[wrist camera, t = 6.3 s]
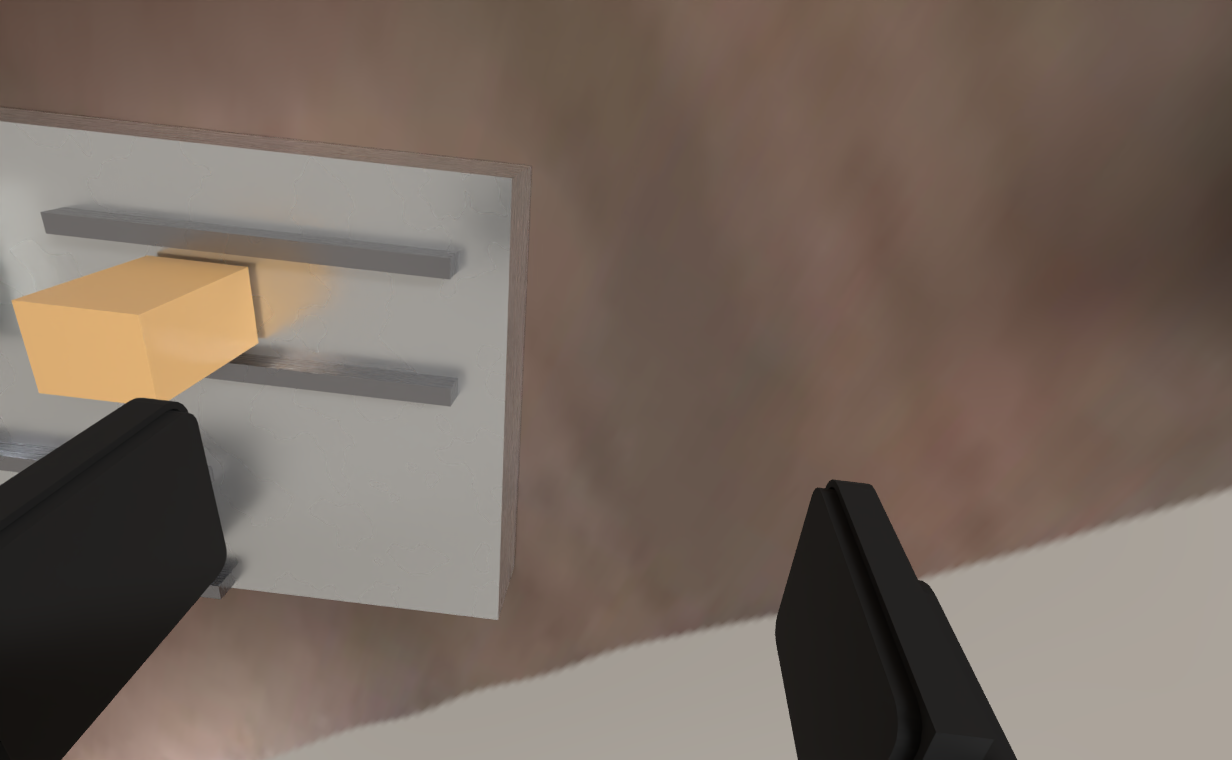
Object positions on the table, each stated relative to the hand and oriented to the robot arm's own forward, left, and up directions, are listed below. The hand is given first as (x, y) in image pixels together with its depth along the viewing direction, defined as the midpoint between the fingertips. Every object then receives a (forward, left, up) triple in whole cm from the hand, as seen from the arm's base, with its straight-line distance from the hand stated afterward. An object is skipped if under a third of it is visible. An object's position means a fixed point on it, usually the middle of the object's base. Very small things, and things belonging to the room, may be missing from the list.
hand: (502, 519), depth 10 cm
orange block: (+1, -11, -10) cm, 15 cm away
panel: (+4, -16, -13) cm, 21 cm away
